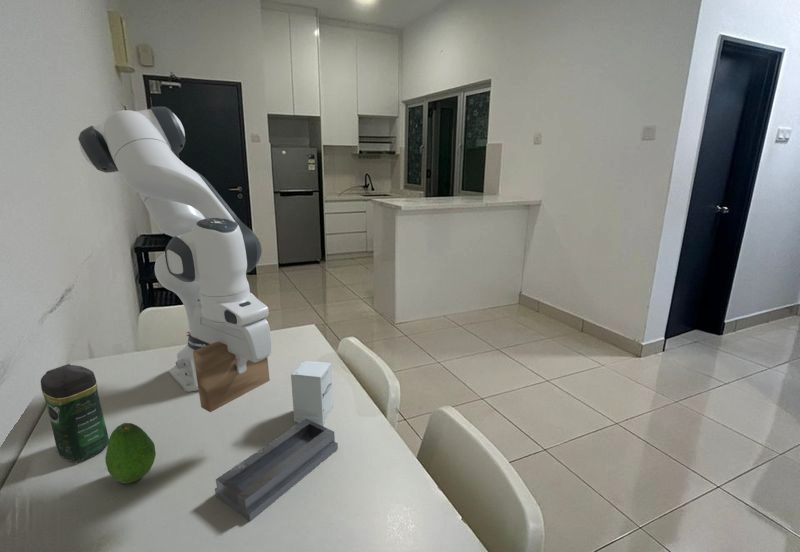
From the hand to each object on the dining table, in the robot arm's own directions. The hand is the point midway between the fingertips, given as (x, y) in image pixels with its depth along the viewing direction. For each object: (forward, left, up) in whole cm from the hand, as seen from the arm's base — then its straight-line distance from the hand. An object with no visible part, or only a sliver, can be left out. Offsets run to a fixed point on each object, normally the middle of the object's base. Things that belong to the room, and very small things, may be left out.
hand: (233, 368), depth 83 cm
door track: (+12, 0, -19) cm, 22 cm away
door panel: (0, 0, -6) cm, 6 cm away
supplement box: (+4, +17, -19) cm, 26 cm away
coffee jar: (-28, -19, -19) cm, 39 cm away
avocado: (-10, -17, -19) cm, 27 cm away
